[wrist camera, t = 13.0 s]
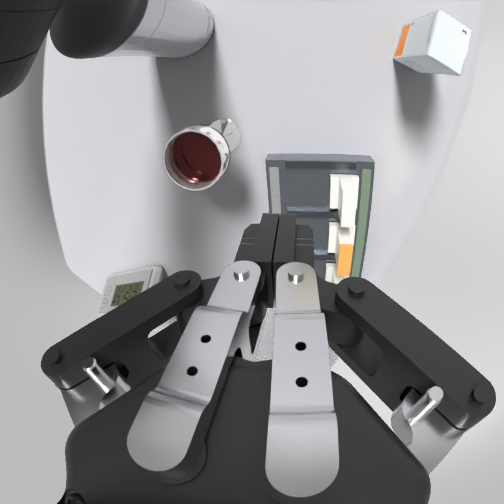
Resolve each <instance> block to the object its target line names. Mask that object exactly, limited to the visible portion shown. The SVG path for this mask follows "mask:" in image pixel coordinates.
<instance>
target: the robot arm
mask: <svg viewBox="0 0 504 504" xmlns="http://www.w3.org/2000/svg"><path fill="white" fill-rule="evenodd" d="M49 28H50V36H51V39H52V42H53V44H54V46H55V48H56V49H57V50H58V51H59V52H60V53H61V54H63V55H65V56H67V57H71V58H76V59H84V58H95V57H110V56H155V57H172V58H181V57H186V56H189V55H192V54H194V53H196V52H197V51H199V50H200V49H201V48H202V47H203V46H205V44H206V43H207V42H208V40H209V39H210V37H211V35H212V32H213V28H214V20H213V16H212V14H211V12H210V10H209V9H208V8H207V7H206V6H205V5H203V4H202V3H200V2H198V1H197V0H0V98H1V97H3V96H5V95H6V94H9V93H10V92H12V91H13V90H15V89H16V88H17V87H18V86H19V85H20V84H21V83H22V82H23V81H24V79H25V78H26V76H27V74H28V72H29V70H30V68H31V66H32V64H33V62H34V60H35V57H36V55H37V53H38V50H39V48H40V46H41V44H42V42H43V40H44V38H45V36H46V34H47V32H48V30H49ZM274 299H275V314H274V336H273V359H272V360H266V361H259V362H255V358H256V354H257V350H258V347H259V343H260V339H261V336H262V332H263V328H264V324H265V315H266V310H267V308H273V306H274ZM174 316H176V319H177V321H175V322H174V323H172V324H171V325H169V326H168V327H166V328H165V329H163V330H161V331H160V332H158V333H157V334H155V335H154V336H152V337H150V338H148V335H149V333H150V332H151V331H152V330H153V329H155V328H156V327H158V326H159V325H161V324H163V323H164V322H166V321H167V320H169V319H171V318H172V317H174ZM328 344H329V346H330V348H331V349H332V350H333V351H334V352H335V353H336V354H337V355H338V356H339V357H340V358H341V359H342V360H343V361H344V362H345V363H346V364H347V365H348V366H349V367H350V368H351V369H352V370H353V371H354V372H355V373H356V374H357V375H358V377H359V378H360V379H361V380H362V381H363V382H364V383H365V384H366V385H367V386H368V387H369V388H370V389H371V390H372V391H373V392H374V393H375V394H376V395H377V396H378V397H379V398H380V399H381V400H382V401H383V402H384V403H385V404H386V405H387V406H388V407H389V408H390V409H391V410H392V411H393V414H392V417H391V425H392V428H393V430H394V432H395V433H396V434H395V433H394V432H393V431H392V430H391V429H390V428H389V427H388V425H387V424H386V423H385V422H384V421H383V420H382V419H381V417H380V416H379V415H378V414H377V413H376V412H375V411H374V410H373V408H372V407H371V406H370V405H369V404H368V403H367V402H366V400H365V399H364V398H363V397H362V396H361V395H360V394H359V392H357V390H356V389H355V388H354V387H353V386H352V385H351V384H350V383H349V382H348V381H347V380H346V379H344V378H343V377H341V376H340V375H338V374H336V373H334V372H332V371H331V368H330V358H329V349H328ZM41 368H42V371H43V372H44V373H45V374H46V375H47V376H48V377H49V378H50V379H51V380H52V381H53V382H54V383H55V385H56V386H57V387H58V388H59V389H60V390H61V392H62V395H63V398H64V400H65V403H66V405H67V408H68V411H69V413H70V416H71V418H72V420H73V423H74V425H75V428H74V429H73V430H72V432H71V433H70V435H69V437H68V439H67V442H66V447H65V448H66V449H65V457H66V458H65V459H66V470H67V480H66V489H65V493H64V495H63V497H62V499H61V500H60V501H59V502H58V503H57V504H428V501H429V497H430V491H431V490H430V489H431V484H430V478H429V474H430V472H432V471H433V470H434V468H435V467H436V466H437V465H438V464H439V463H440V462H441V461H442V459H443V458H444V457H445V456H446V455H447V454H448V452H449V451H450V450H451V449H452V448H453V446H454V445H455V444H456V443H457V441H458V440H459V439H460V437H461V436H462V435H463V433H464V432H466V431H467V430H469V429H470V428H471V427H473V426H474V425H475V424H477V423H478V422H479V421H481V420H482V419H483V418H484V417H486V416H487V415H488V414H489V413H490V412H491V411H492V410H493V408H494V406H495V402H496V394H495V390H494V388H493V386H492V384H491V383H490V382H489V381H488V380H487V379H486V378H485V377H484V376H483V375H482V374H480V372H478V371H477V370H476V369H475V368H474V367H473V366H472V365H471V364H469V363H468V362H467V361H466V360H465V359H464V358H463V357H461V356H460V355H459V354H458V353H457V352H456V351H455V350H453V349H452V348H451V347H450V346H448V345H447V344H446V343H445V342H444V341H443V340H442V339H440V338H439V337H438V336H437V335H436V334H434V333H433V332H432V331H431V330H430V329H428V328H427V327H426V326H425V325H424V324H422V323H421V322H420V321H419V320H417V319H416V318H415V317H414V316H413V315H411V314H410V313H409V312H408V311H406V310H405V309H404V308H403V307H401V306H400V305H399V304H398V303H396V302H395V301H394V300H393V299H391V298H390V297H389V296H387V295H386V294H385V293H384V292H382V291H381V290H380V289H378V288H377V287H376V286H375V285H373V284H372V283H371V282H369V281H368V280H366V279H363V278H360V277H348V278H345V279H343V280H341V281H340V282H339V283H338V284H335V283H331V282H328V281H326V280H324V279H322V278H321V277H319V276H318V275H317V273H316V271H315V268H314V240H313V230H312V229H311V228H310V226H309V225H297V214H287V213H281V214H279V213H263V215H262V219H261V223H260V224H251V225H250V226H249V227H247V228H246V229H245V231H244V233H243V236H242V239H241V242H240V245H239V248H238V251H237V254H236V257H235V260H234V262H233V263H231V264H229V265H228V266H227V267H226V268H225V269H224V270H223V272H222V274H221V276H219V277H216V278H211V279H206V280H201V277H200V275H199V274H198V273H196V272H194V271H189V270H185V271H180V272H177V273H174V274H173V275H171V276H169V277H167V278H166V279H164V280H162V281H160V282H159V283H157V284H155V285H154V286H152V287H150V288H148V289H147V290H145V291H143V292H142V293H140V294H138V295H136V296H135V297H133V298H131V299H130V300H128V301H126V302H125V303H123V304H121V305H119V306H118V307H116V308H114V309H113V310H111V311H109V312H108V313H106V314H104V315H103V316H101V317H99V318H98V319H96V320H94V321H93V322H91V323H89V324H88V325H86V326H84V327H83V328H81V329H79V330H78V331H76V332H74V333H73V334H71V335H70V336H68V337H66V338H65V339H63V340H61V341H60V342H58V343H56V344H55V345H53V346H52V347H50V348H49V349H48V350H47V351H46V352H45V354H44V355H43V358H42V361H41ZM397 436H398V437H397Z"/></svg>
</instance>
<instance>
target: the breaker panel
mask: <svg viewBox="0 0 504 504" xmlns="http://www.w3.org/2000/svg"><path fill="white" fill-rule="evenodd" d="M374 164H375V162H374V161H373V159H372V158H371V157H370V156H363V155H342V154H268V156H267V158H266V173H267V186H268V199H269V213H279V214H281V213H287V214H297V225H309V226H310V228H311V229H312V230H313V240H314V268H315V271H316V273H317V275H318V276H319V277H321V278H322V279H324V280H325V273H326V263H336V259H335V253H328V236H329V222H340V219H339V214H338V209H334V208H330V174H345V175H358V177H359V186H358V200H357V209H356V214H355V226H356V227H355V236H354V245H353V254H352V262H351V269H350V276H349V277H360V278H361V273H362V267H363V261H364V255H365V248H366V242H367V235H368V227H369V219H370V210H371V201H372V190H373V179H374Z"/></svg>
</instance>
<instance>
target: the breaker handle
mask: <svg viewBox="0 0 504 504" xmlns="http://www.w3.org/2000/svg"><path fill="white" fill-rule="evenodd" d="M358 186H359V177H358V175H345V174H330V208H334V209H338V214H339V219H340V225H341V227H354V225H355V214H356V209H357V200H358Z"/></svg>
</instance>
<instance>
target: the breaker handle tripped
mask: <svg viewBox="0 0 504 504" xmlns="http://www.w3.org/2000/svg"><path fill="white" fill-rule="evenodd" d="M355 227H356V226H355V225H354V227H341V225H340V222H329V236H328V253H335V259H336V270H337V272H336V275H337V276H350V269H351V262H352V254H353V245H354V236H355Z"/></svg>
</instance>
